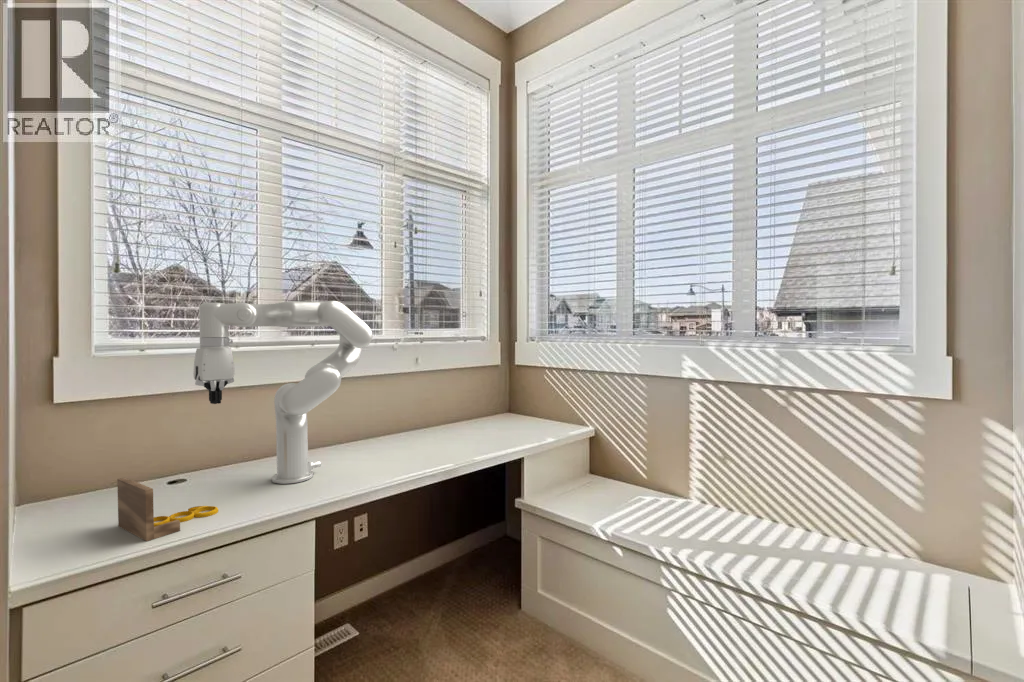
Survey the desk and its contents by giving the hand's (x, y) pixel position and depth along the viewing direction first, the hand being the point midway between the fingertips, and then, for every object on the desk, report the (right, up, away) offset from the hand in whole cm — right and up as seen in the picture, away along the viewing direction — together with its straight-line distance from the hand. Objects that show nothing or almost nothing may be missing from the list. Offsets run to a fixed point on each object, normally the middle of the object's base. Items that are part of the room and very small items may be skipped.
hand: (215, 403), depth 148 cm
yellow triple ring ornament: (+4, -28, -21) cm, 35 cm away
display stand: (0, -28, -27) cm, 39 cm away
